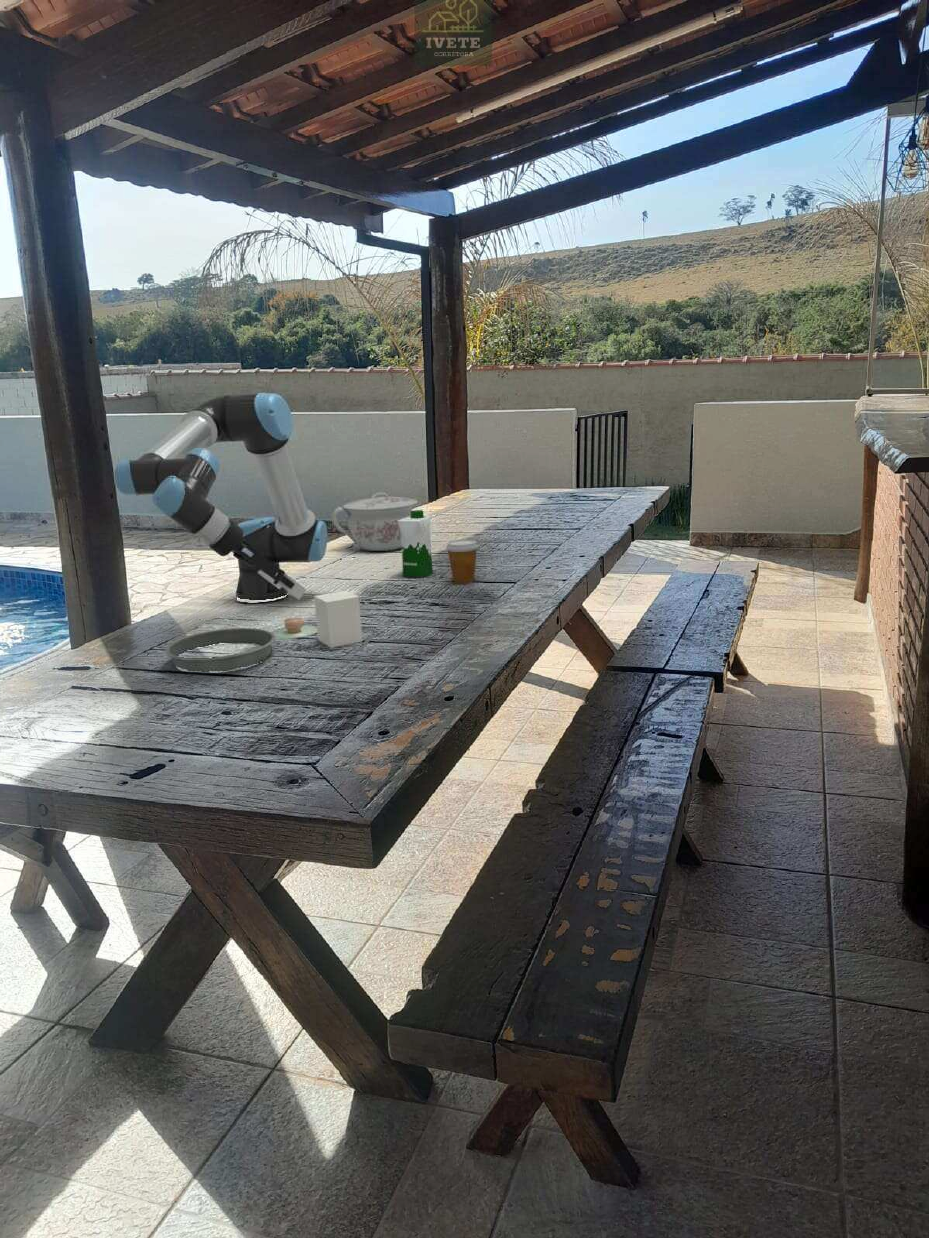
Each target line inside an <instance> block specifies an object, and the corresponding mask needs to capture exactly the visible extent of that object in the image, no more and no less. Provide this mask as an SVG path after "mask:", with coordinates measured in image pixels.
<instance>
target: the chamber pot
mask: <svg viewBox="0 0 929 1238" xmlns="http://www.w3.org/2000/svg"><path fill="white" fill-rule="evenodd" d="M418 502H419V501H418V500H417V499H413V498H409V497H402V496H388V494H387V493H385V492H376V493H374V494H373V495H371V497H369V498H363V499H357V500H353V501H350V502H348V503H345V504H344V505H343V506H337V508H335V509H334V511H333V513H332V523H333V525H334V527H335V528H336V529H337V530H338V532H341V533H342V534H344V535H346V537H348V538H350V540H351V541H352V542H353V543H355V544H356V545H357V546H358V547H359V548H360V549H362V550H364V551H367V552H371V551H385V552H392V551H397V549H398V550H400V549H402V546H401V533H400V529H399V525H398V520H401V519H403V518H407V517H411V511H413V510H412V508H413V506H415V505H417V504H418ZM340 513H344V514H345V515H346V521H347V526H348V529H349V531H348V530H346V529H344V528H342V526H341V525H340V524H339V522H338V517H337V516H338V514H340Z"/></svg>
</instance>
